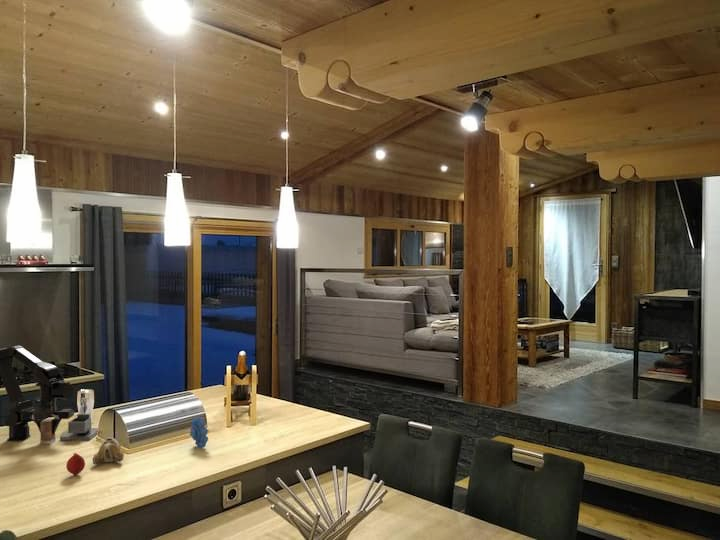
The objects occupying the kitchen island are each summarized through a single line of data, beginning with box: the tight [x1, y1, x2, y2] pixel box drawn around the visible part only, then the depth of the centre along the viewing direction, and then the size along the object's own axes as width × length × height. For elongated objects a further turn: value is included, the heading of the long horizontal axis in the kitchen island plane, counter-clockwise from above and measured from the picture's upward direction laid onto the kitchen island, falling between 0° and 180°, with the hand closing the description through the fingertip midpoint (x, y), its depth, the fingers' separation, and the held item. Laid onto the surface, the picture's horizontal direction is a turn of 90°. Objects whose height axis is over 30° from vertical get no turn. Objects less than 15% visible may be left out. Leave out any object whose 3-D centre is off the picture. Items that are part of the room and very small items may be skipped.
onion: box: [66, 452, 86, 476], centre depth 203 cm, size 6×6×8 cm
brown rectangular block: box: [39, 418, 56, 445], centre depth 238 cm, size 4×4×9 cm
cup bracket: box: [59, 412, 99, 441], centre depth 247 cm, size 12×12×8 cm
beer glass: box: [76, 389, 95, 425], centre depth 264 cm, size 7×7×15 cm
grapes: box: [189, 416, 209, 448], centre depth 235 cm, size 12×7×12 cm, turn 44°
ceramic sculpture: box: [92, 435, 125, 465], centre depth 218 cm, size 11×9×15 cm
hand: (47, 434), depth 238 cm, fingers closed on brown rectangular block, 4 cm apart
